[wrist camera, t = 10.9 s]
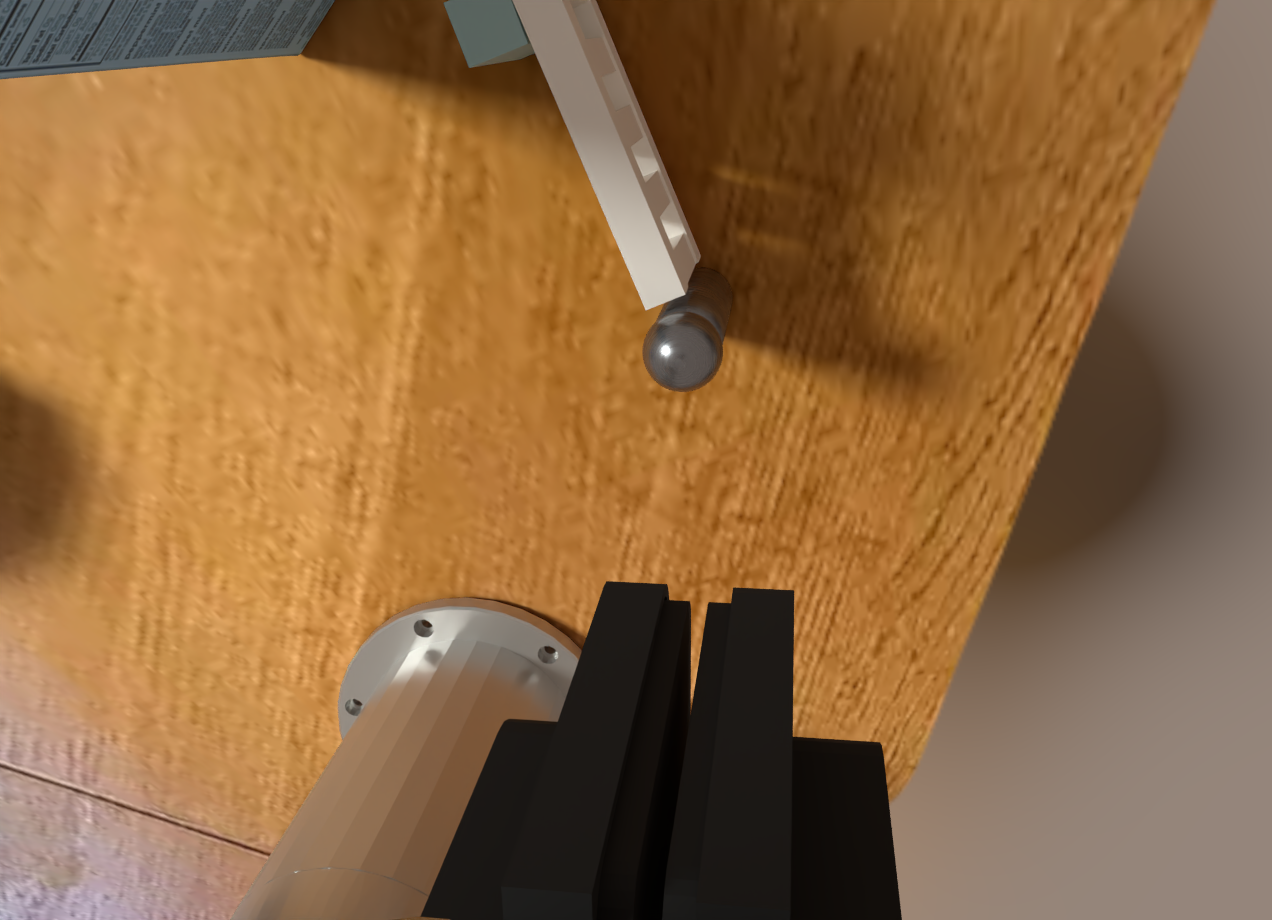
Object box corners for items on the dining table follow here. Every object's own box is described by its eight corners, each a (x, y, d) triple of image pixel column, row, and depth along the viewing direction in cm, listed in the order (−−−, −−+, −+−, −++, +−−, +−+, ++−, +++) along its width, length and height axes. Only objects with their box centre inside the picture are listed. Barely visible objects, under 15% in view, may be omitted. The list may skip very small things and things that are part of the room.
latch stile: (569, 39, 42) (527, 43, 36) (519, 59, 43) (469, 67, 36) (549, -17, 41) (502, -23, 35) (498, 4, 42) (443, 2, 35)
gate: (702, 253, 44) (685, 294, 38) (668, 267, 44) (645, 310, 38) (582, -36, 41) (543, -45, 35) (547, -19, 41) (501, -25, 35)
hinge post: (744, 319, 45) (731, 388, 37) (680, 340, 46) (654, 412, 37) (721, 255, 44) (704, 311, 36) (658, 277, 45) (625, 337, 37)
